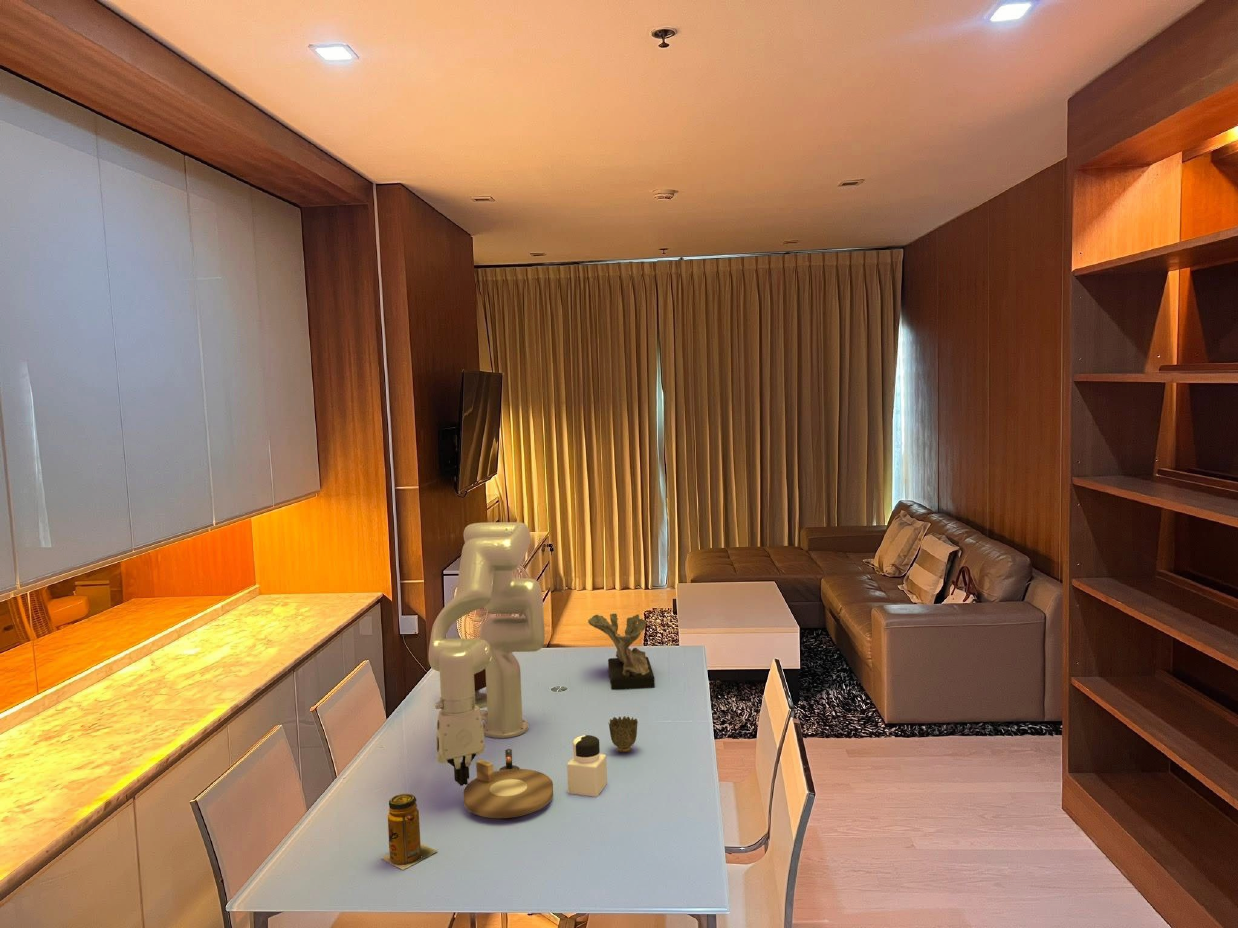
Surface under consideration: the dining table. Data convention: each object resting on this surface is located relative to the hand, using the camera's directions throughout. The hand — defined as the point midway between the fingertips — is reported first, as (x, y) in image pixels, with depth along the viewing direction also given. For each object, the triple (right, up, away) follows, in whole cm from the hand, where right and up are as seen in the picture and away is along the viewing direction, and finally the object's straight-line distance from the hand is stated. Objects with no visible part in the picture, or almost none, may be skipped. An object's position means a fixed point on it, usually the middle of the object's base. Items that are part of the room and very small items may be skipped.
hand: (462, 782), depth 189 cm
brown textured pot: (+37, -2, +25) cm, 45 cm away
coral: (+36, +2, +82) cm, 89 cm away
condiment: (-6, -6, -22) cm, 24 cm away
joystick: (+9, -3, +14) cm, 17 cm away
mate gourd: (-9, -1, +65) cm, 66 cm away
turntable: (+11, -3, -1) cm, 11 cm away
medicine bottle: (+28, -3, +5) cm, 29 cm away
